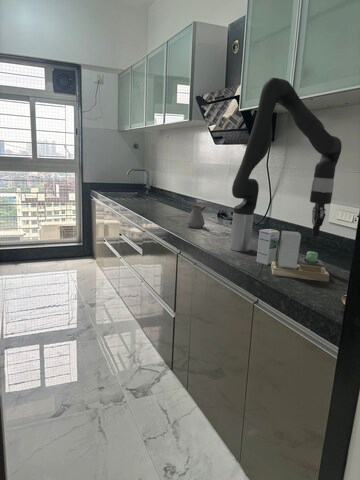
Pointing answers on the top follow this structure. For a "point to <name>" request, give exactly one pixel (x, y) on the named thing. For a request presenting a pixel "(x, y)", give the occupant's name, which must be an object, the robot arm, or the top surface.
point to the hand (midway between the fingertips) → (315, 235)
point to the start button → (311, 257)
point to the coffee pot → (196, 217)
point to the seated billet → (289, 250)
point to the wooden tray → (302, 272)
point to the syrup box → (268, 246)
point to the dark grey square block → (303, 262)
